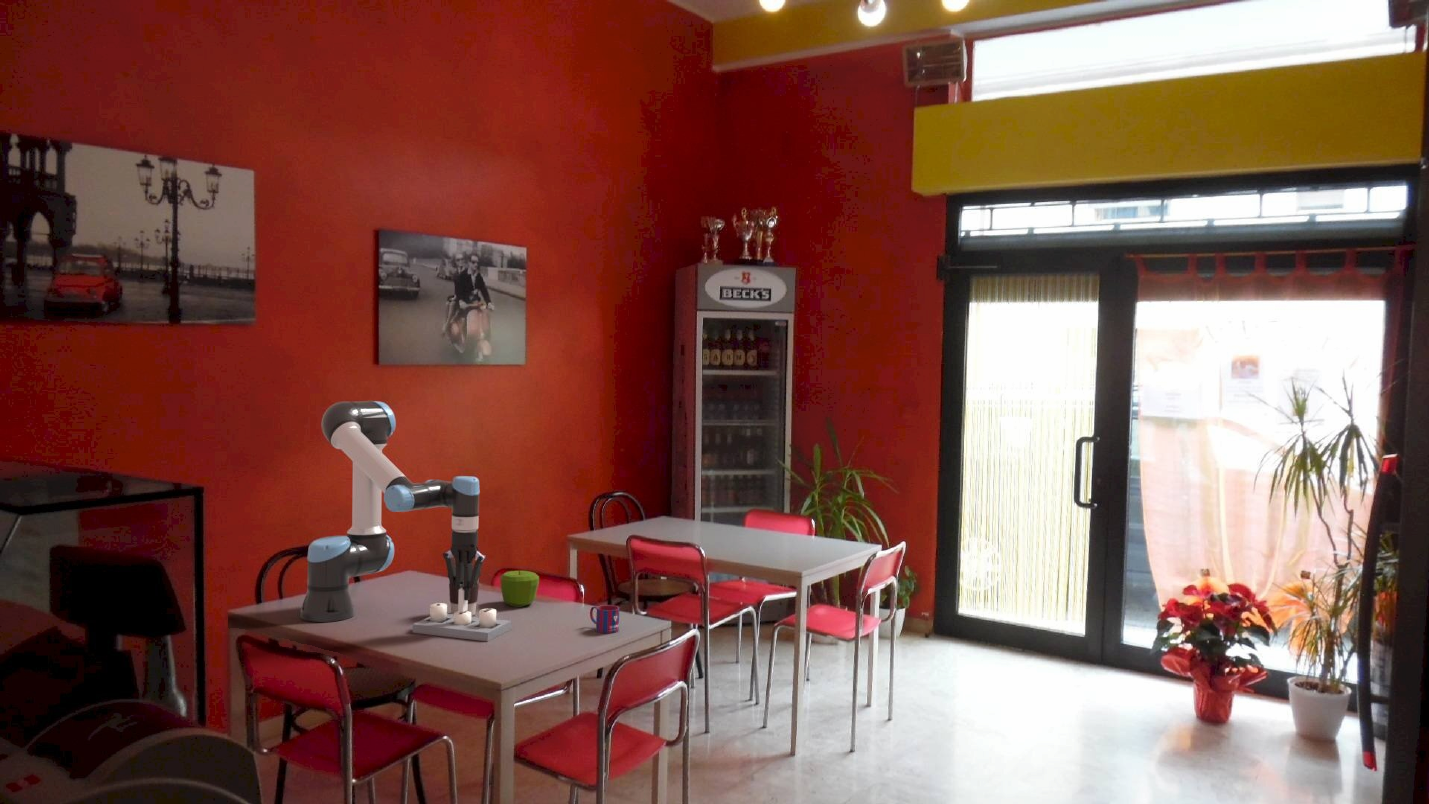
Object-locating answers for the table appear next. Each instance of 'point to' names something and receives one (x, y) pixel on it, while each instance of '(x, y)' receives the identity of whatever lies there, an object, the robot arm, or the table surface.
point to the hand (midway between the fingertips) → (462, 610)
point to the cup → (606, 618)
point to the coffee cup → (470, 602)
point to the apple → (519, 587)
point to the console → (461, 628)
